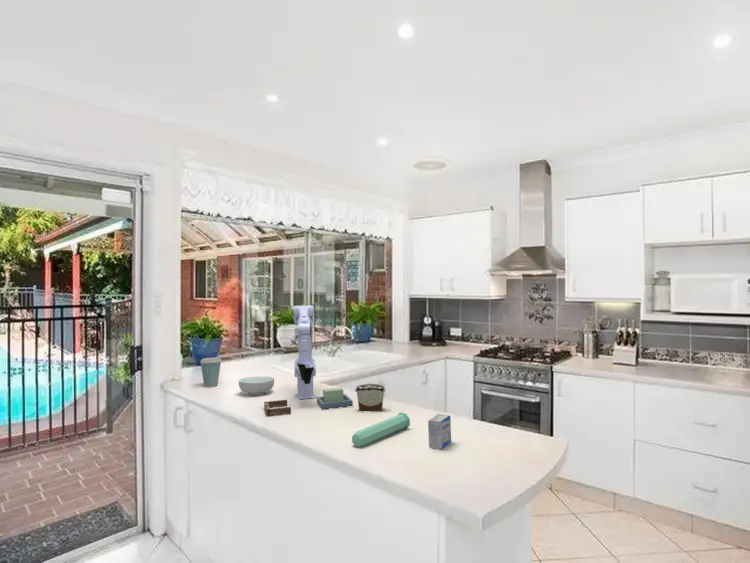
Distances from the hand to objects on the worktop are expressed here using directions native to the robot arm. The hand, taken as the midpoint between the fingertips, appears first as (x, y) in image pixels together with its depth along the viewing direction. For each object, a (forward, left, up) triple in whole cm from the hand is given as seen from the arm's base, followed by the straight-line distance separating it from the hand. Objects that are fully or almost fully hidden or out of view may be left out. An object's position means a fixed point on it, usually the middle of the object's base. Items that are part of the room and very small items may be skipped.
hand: (305, 382), depth 193 cm
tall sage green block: (+4, +11, -9) cm, 15 cm away
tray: (+4, +12, -10) cm, 16 cm away
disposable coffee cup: (-59, -41, -10) cm, 73 cm away
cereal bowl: (-31, -19, -10) cm, 38 cm away
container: (+51, +17, -10) cm, 55 cm away
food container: (+18, +24, -10) cm, 32 cm away
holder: (+5, -13, -10) cm, 17 cm away
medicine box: (+65, +32, -10) cm, 73 cm away
